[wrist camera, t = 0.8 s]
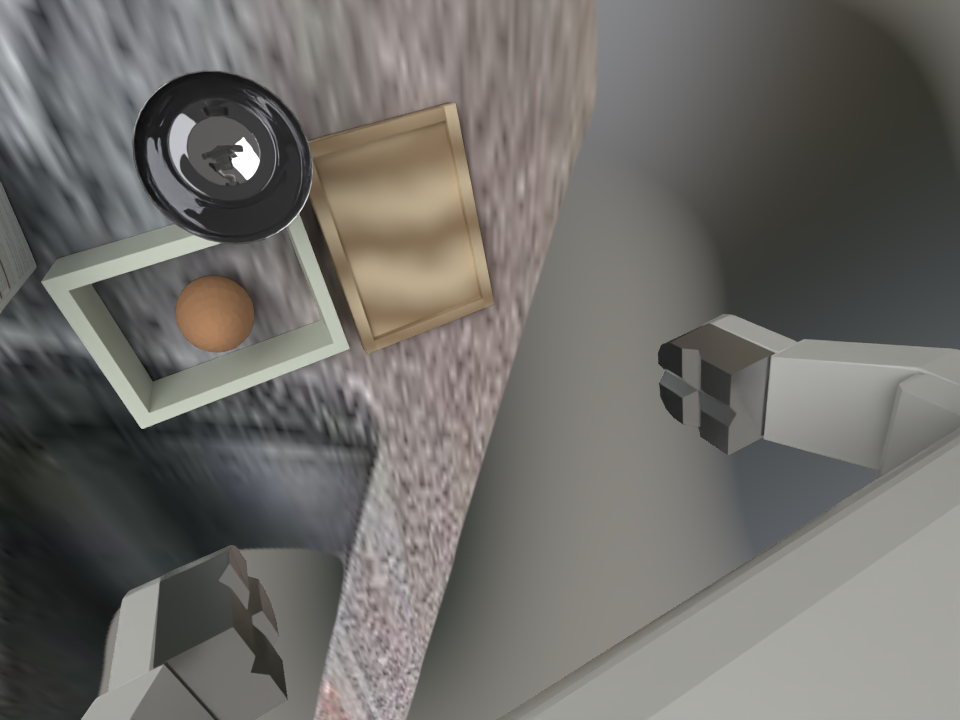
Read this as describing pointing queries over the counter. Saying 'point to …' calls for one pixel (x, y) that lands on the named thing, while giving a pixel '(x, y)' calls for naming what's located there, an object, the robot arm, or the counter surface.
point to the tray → (401, 224)
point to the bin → (205, 380)
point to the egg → (214, 313)
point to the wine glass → (222, 157)
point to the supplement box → (12, 253)
